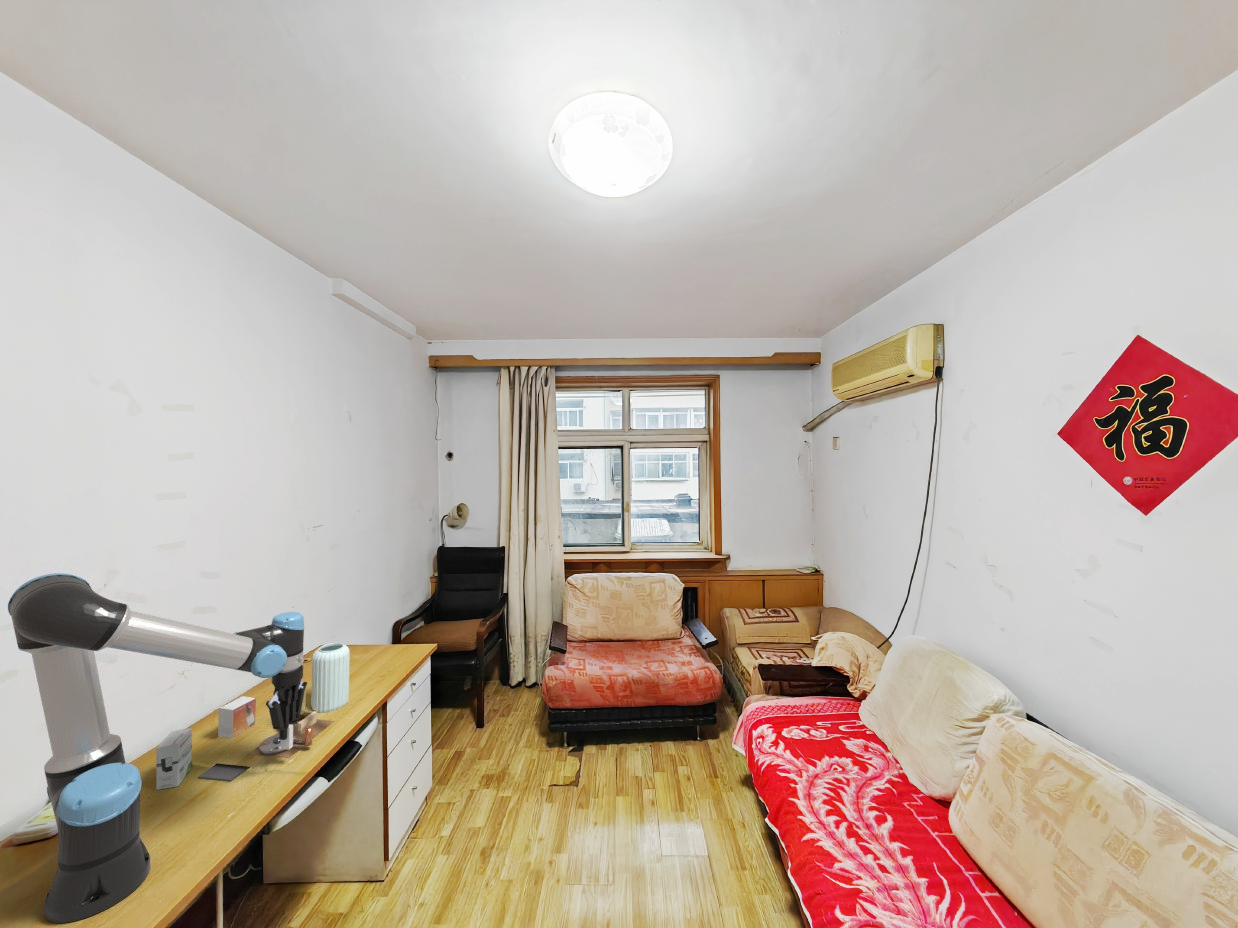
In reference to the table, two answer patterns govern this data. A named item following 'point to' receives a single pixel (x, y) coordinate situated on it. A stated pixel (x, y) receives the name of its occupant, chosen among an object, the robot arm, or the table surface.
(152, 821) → the table surface
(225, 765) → the mat
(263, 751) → the handwheel
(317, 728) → the mount board
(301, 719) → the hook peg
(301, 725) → the square socket
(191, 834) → the table surface
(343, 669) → the vase
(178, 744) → the ink box
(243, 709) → the small box
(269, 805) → the table surface
